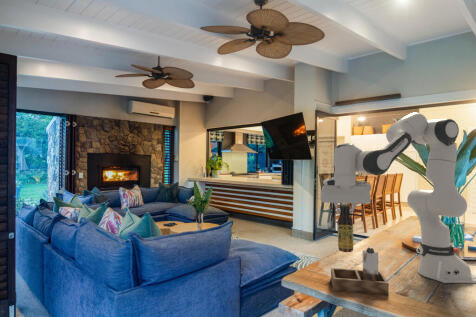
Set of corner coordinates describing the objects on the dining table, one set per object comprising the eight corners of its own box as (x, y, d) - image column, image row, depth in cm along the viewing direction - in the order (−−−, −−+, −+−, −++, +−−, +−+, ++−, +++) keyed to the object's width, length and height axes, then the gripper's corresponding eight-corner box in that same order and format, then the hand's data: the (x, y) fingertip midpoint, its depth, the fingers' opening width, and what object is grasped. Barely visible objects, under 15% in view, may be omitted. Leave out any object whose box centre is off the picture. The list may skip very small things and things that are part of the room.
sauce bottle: (337, 252, 125) (335, 206, 125) (338, 247, 131) (336, 203, 131) (354, 253, 123) (351, 206, 122) (354, 248, 129) (351, 203, 128)
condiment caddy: (381, 283, 129) (381, 271, 129) (388, 295, 117) (388, 283, 117) (331, 278, 134) (330, 267, 134) (333, 290, 122) (333, 278, 122)
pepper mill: (376, 283, 126) (376, 245, 126) (380, 289, 121) (379, 250, 121) (361, 281, 128) (361, 244, 128) (364, 287, 122) (363, 249, 122)
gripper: (369, 180, 127) (369, 212, 127) (320, 180, 132) (320, 211, 132) (372, 182, 121) (372, 215, 121) (320, 181, 126) (321, 214, 126)
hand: (345, 213), depth 126 cm, fingers closed on sauce bottle, 4 cm apart
